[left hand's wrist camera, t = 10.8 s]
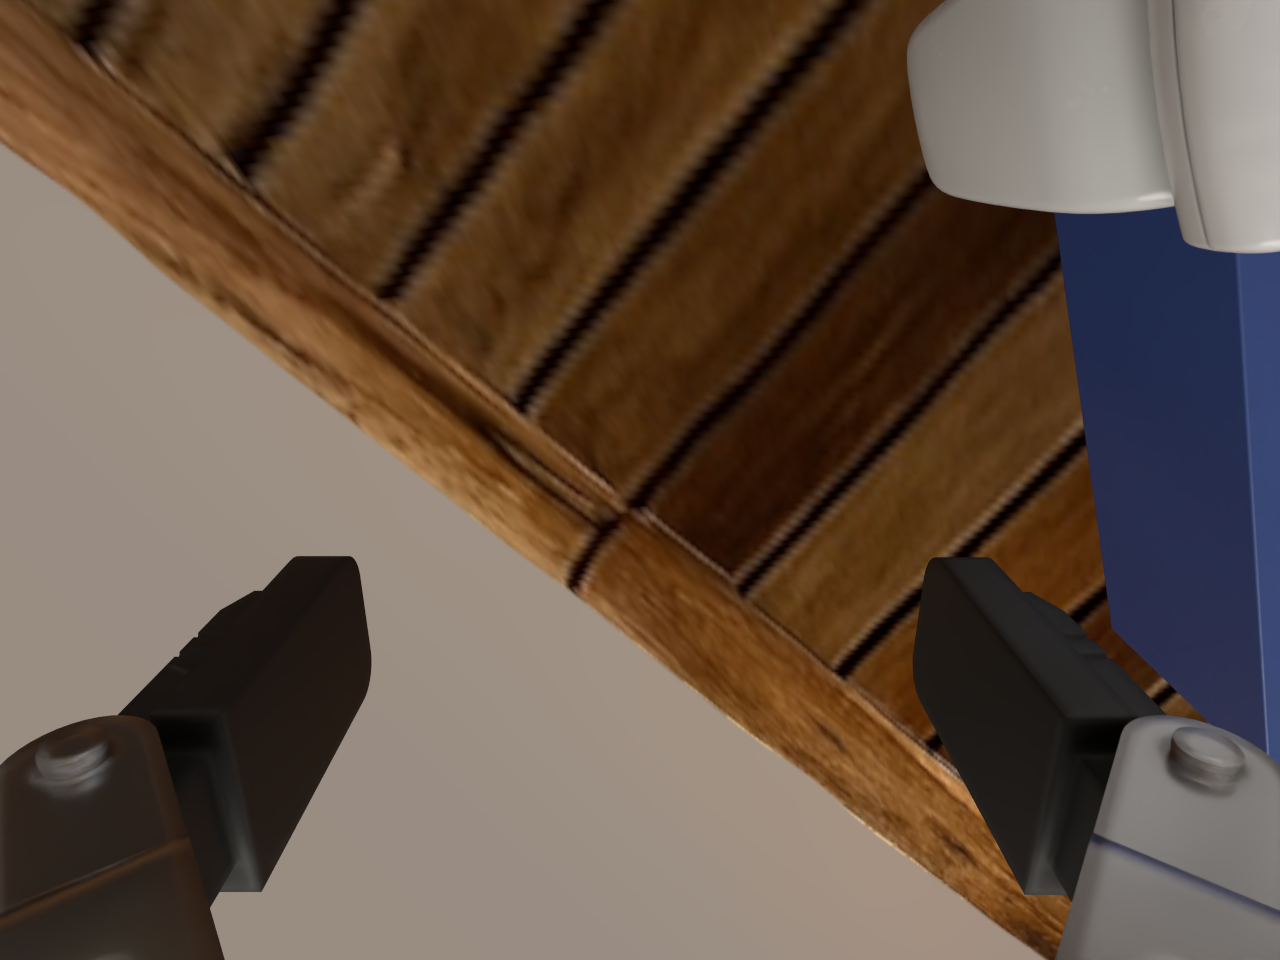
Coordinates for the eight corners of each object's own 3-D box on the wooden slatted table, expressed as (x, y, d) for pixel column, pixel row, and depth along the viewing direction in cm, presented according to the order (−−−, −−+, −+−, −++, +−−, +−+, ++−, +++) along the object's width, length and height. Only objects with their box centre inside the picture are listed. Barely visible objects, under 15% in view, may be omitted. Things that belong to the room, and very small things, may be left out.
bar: (1243, 593, 34) (1451, 738, 25) (1111, 628, 35) (1269, 782, 26) (1193, -148, 25) (1498, -328, 16) (1012, -80, 25) (1208, -216, 17)
